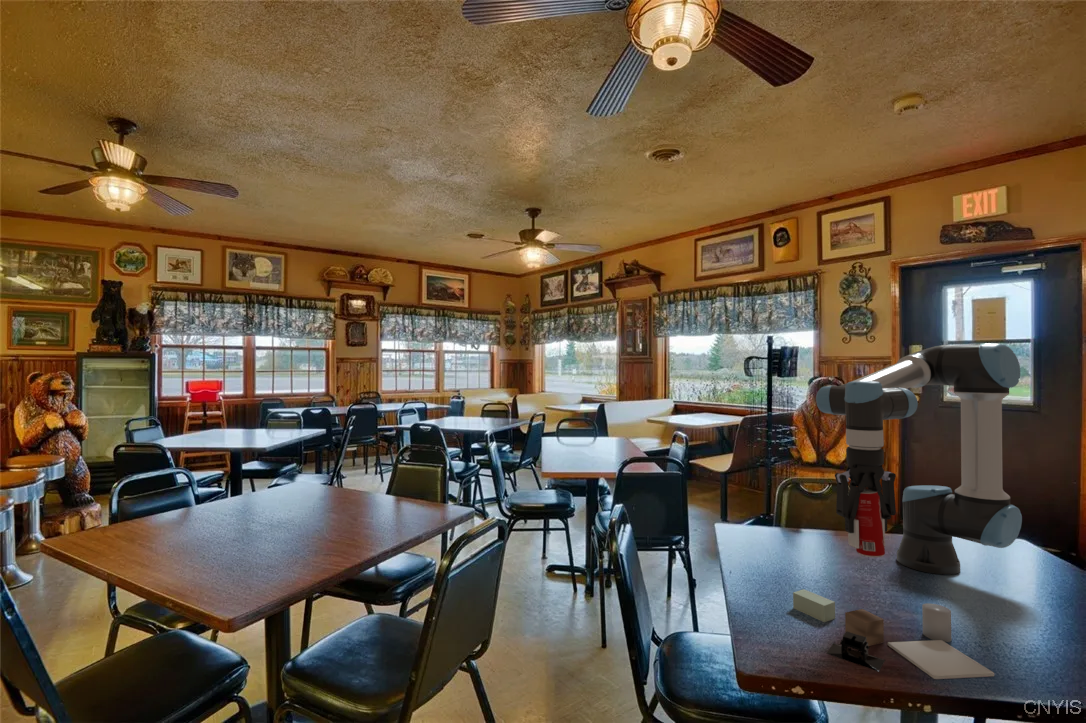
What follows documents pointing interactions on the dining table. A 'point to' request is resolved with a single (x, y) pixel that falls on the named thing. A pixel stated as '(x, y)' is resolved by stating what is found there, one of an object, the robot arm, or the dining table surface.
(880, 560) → the dining table surface
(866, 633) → the walnut block
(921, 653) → the tile
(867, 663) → the black angular piece
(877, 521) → the beverage can
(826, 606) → the sage brick
